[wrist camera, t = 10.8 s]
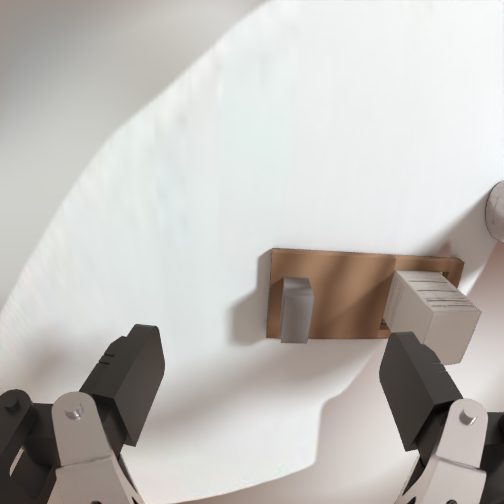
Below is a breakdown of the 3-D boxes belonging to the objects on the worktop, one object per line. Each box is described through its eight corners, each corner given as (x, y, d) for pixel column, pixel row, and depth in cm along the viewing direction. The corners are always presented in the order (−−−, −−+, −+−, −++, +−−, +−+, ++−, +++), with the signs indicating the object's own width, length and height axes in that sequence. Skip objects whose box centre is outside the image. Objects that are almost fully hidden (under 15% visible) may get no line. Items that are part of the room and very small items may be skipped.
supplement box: (421, 312, 39) (460, 365, 27) (377, 312, 39) (410, 371, 27) (435, 266, 37) (484, 311, 25) (390, 263, 37) (433, 312, 25)
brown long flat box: (459, 258, 36) (483, 277, 30) (437, 330, 40) (455, 354, 34) (272, 248, 37) (273, 269, 30) (266, 331, 41) (266, 361, 35)
